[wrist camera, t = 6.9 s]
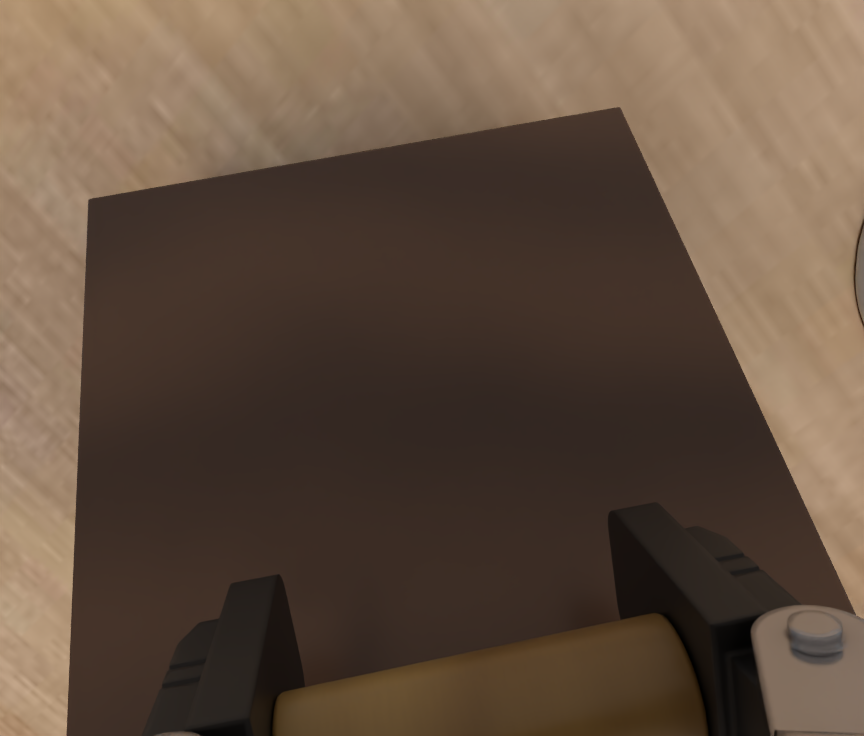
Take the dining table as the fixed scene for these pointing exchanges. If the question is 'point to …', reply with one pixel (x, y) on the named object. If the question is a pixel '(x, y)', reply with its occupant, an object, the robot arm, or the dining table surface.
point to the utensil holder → (860, 275)
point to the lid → (413, 435)
